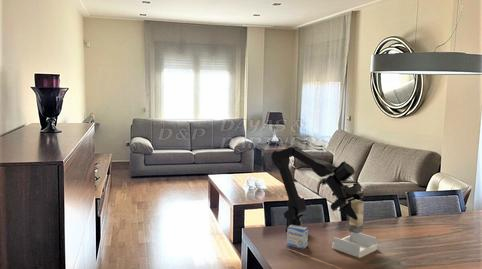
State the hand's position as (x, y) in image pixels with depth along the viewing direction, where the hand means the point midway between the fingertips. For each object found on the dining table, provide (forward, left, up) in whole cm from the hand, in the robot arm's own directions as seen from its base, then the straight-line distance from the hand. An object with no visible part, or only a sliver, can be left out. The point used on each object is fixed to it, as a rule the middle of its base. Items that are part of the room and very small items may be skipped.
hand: (359, 218), depth 173 cm
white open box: (-1, -2, -13) cm, 14 cm away
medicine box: (-24, -8, -14) cm, 29 cm away
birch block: (-1, +1, -6) cm, 6 cm away
